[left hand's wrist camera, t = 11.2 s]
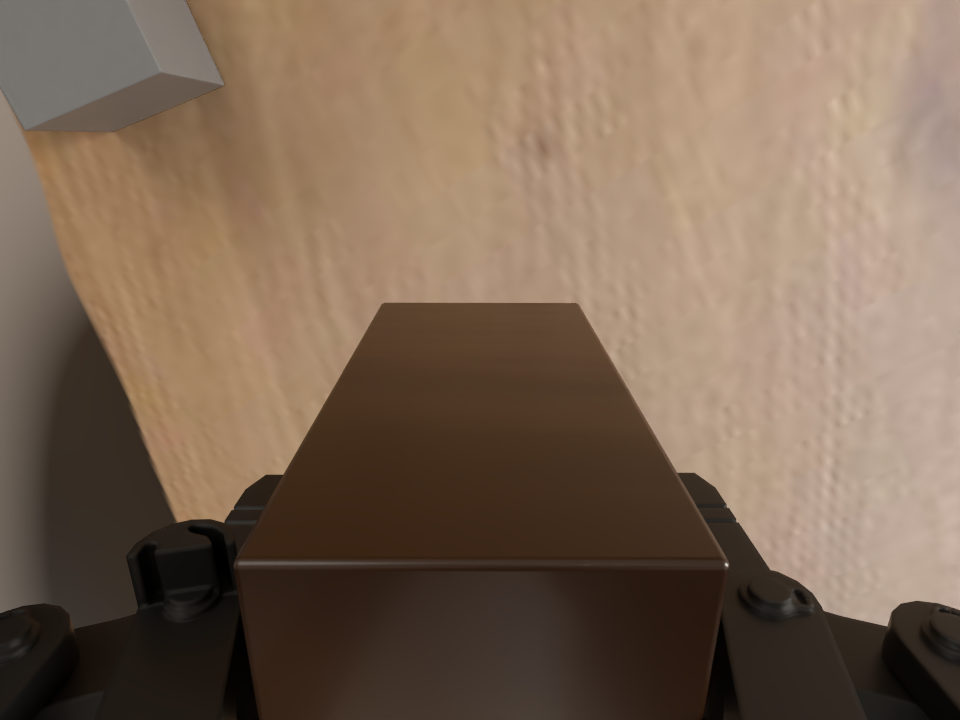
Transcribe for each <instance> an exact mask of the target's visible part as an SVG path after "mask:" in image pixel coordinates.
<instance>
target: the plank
mask: <svg viewBox="0 0 960 720" xmlns="http://www.w3.org/2000/svg"><path fill="white" fill-rule="evenodd" d="M233 567H234V574H235V580H236V586H237V592H238V598H239V604H240V610H241V616H242V622H243V628H244V634H245V640H246V645H247V651H248V657H249V663H250V669H251V675H252V681H253V687H254V693H255V699H256V705H257V711H258V716H259V720H703V715H704V709H705V703H706V698H707V692H708V686H709V681H710V675H711V669H712V663H713V658H714V652H715V646H716V641H717V635H718V629H719V624H720V618H721V612H722V607H723V601H724V595H725V589H726V584H727V578H728V572H729V563H728V560H727V558H726V556H725V554H724V552H723V551H722V549H721V547H720V546H719V544H718V542H717V540H716V539H715V537H714V535H713V534H712V532H711V530H710V528H709V527H708V525H707V523H706V522H705V520H704V518H703V517H702V515H701V513H700V511H699V510H698V508H697V506H696V505H695V503H694V501H693V499H692V498H691V496H690V494H689V493H688V491H687V489H686V487H685V486H684V484H683V482H682V481H681V479H680V477H679V475H678V474H677V472H676V470H675V469H674V467H673V465H672V463H671V462H670V460H669V458H668V457H667V455H666V453H665V451H664V450H663V448H662V446H661V445H660V443H659V441H658V440H657V438H656V436H655V434H654V433H653V431H652V429H651V428H650V426H649V424H648V422H647V421H646V419H645V417H644V416H643V414H642V412H641V410H640V409H639V407H638V405H637V404H636V402H635V400H634V398H633V397H632V395H631V393H630V392H629V390H628V388H627V386H626V385H625V383H624V381H623V380H622V378H621V376H620V374H619V373H618V371H617V369H616V368H615V366H614V364H613V362H612V361H611V359H610V357H609V356H608V354H607V352H606V351H605V349H604V347H603V345H602V344H601V342H600V340H599V339H598V337H597V335H596V333H595V332H594V330H593V328H592V327H591V325H590V323H589V321H588V320H587V318H586V316H585V315H584V313H583V311H582V309H581V308H580V306H579V304H576V303H383V304H382V305H381V307H380V308H379V310H378V312H377V314H376V315H375V317H374V319H373V320H372V322H371V324H370V326H369V327H368V329H367V331H366V333H365V334H364V336H363V338H362V340H361V341H360V343H359V345H358V346H357V348H356V350H355V352H354V353H353V355H352V357H351V359H350V360H349V362H348V364H347V366H346V367H345V369H344V371H343V372H342V374H341V376H340V378H339V379H338V381H337V383H336V385H335V386H334V388H333V390H332V392H331V393H330V395H329V397H328V398H327V400H326V402H325V404H324V405H323V407H322V409H321V411H320V412H319V414H318V416H317V418H316V419H315V421H314V423H313V425H312V426H311V428H310V430H309V431H308V433H307V435H306V437H305V438H304V440H303V442H302V444H301V445H300V447H299V449H298V451H297V452H296V454H295V456H294V457H293V459H292V461H291V463H290V464H289V466H288V468H287V470H286V471H285V473H284V475H283V477H282V478H281V480H280V482H279V483H278V485H277V487H276V489H275V490H274V492H273V494H272V496H271V497H270V499H269V501H268V503H267V504H266V506H265V508H264V509H263V511H262V513H261V515H260V516H259V518H258V520H257V522H256V523H255V525H254V527H253V529H252V530H251V532H250V534H249V535H248V537H247V539H246V541H245V542H244V544H243V546H242V548H241V549H240V551H239V553H238V555H237V556H236V558H235V561H234V564H233Z"/></svg>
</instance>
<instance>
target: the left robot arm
mask: <svg viewBox="0 0 960 720" xmlns="http://www.w3.org/2000/svg"><path fill="white" fill-rule="evenodd" d="M677 474H678V475H679V477H680V479H681V481H682V482H683V484H684V486H685V487H686V489H687V491H688V493H689V494H690V496H691V498H692V499H693V501H694V503H695V505H696V506H697V508H698V510H699V511H700V513H701V515H702V517H703V518H704V520H705V522H706V523H707V525H708V527H709V528H710V530H711V532H712V534H713V535H714V537H715V539H716V540H717V542H718V544H719V546H720V547H721V549H722V551H723V552H724V554H725V556H726V558H727V560H728V563H729V572H728V578H727V584H726V589H725V595H724V601H723V607H722V612H721V618H720V624H719V629H718V635H717V641H716V646H715V652H714V658H713V663H712V669H711V675H710V681H709V686H708V692H707V698H706V703H705V709H704V715H703V720H960V610H957V609H955V608H951V607H948V606H945V605H941V604H938V603H930V602H921V601H914V602H908V603H903V604H900V605H899V606H898V607H897V608H896V609H894V610H893V611H892V613H891V616H890V620H889V623H888V627H887V626H882V625H878V624H873V623H869V622H864V621H860V620H855V619H851V618H847V617H842V616H839V615H835V614H832V613H828V612H825V611H823V609H822V607H821V605H820V604H819V602H818V601H817V599H816V598H815V596H814V595H813V593H811V592H810V591H809V590H808V589H806V588H805V587H804V586H803V585H801V584H800V583H799V582H798V581H796V580H794V579H792V578H789V577H787V576H785V575H783V574H781V573H779V572H776V571H772V570H770V569H769V567H768V566H767V564H766V563H765V561H764V560H763V558H762V557H761V556H760V554H759V553H758V551H757V550H756V548H755V547H754V545H753V544H752V542H751V541H750V539H749V538H748V536H747V535H746V533H745V532H744V530H743V529H742V527H741V526H740V524H739V523H736V518H735V517H734V515H733V514H732V512H731V511H730V509H729V508H727V505H726V503H725V502H724V500H723V499H722V497H721V496H720V494H719V493H718V491H717V490H716V488H715V487H714V486H712V485H711V484H709V483H708V482H707V481H705V480H704V479H702V478H701V477H700V476H698V475H697V474H695V473H677ZM282 477H283V475H265V476H264V477H262V478H261V479H260V480H258V481H257V482H255V483H254V484H253V485H251V486H250V487H248V488H247V489H246V490H245V491H244V493H243V494H242V496H241V497H240V499H239V500H238V502H237V503H236V505H235V506H234V510H232V511H231V512H230V514H229V515H228V517H227V518H226V520H225V523H223V522H219V521H215V520H211V519H202V520H188V521H184V522H179V523H175V524H171V525H169V526H166V527H164V528H161V529H159V530H157V531H154V532H152V533H151V534H149V535H148V536H146V537H145V538H143V539H142V540H141V541H139V542H138V543H136V544H135V546H134V547H133V548H132V549H131V551H130V552H129V553H128V554H127V556H126V558H127V562H128V566H129V571H130V575H131V579H132V583H133V587H134V591H135V595H136V599H137V604H138V610H137V613H136V614H134V615H131V616H127V617H124V618H120V619H116V620H112V621H108V622H103V623H99V624H94V625H90V626H85V627H81V628H76V629H74V628H73V625H72V621H71V618H70V615H69V614H68V613H67V612H66V611H65V610H64V609H63V608H62V607H60V606H55V605H50V604H36V605H28V606H22V607H19V608H15V609H12V610H9V611H6V612H3V613H0V720H259V716H258V711H257V705H256V699H255V693H254V687H253V681H252V675H251V669H250V663H249V657H248V651H247V645H246V640H245V634H244V628H243V622H242V616H241V610H240V604H239V598H238V592H237V586H236V580H235V574H234V567H233V564H234V561H235V558H236V556H237V555H238V553H239V551H240V549H241V548H242V546H243V544H244V542H245V541H246V539H247V537H248V535H249V534H250V532H251V530H252V529H253V527H254V525H255V523H256V522H257V520H258V518H259V516H260V515H261V513H262V511H263V509H264V508H265V506H266V504H267V503H268V501H269V499H270V497H271V496H272V494H273V492H274V490H275V489H276V487H277V485H278V483H279V482H280V480H281V478H282Z"/></svg>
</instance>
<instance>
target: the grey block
mask: <svg viewBox="0 0 960 720" xmlns="http://www.w3.org/2000/svg"><path fill="white" fill-rule="evenodd" d="M222 86H224V82H223V80H222V78H221V76H220V74H219V72H218V70H217V67H216V65H215V63H214V61H213V59H212V57H211V54H210V52H209V50H208V48H207V46H206V44H205V42H204V39H203V37H202V35H201V33H200V31H199V29H198V26H197V24H196V22H195V20H194V18H193V16H192V14H191V11H190V9H189V7H188V5H187V3H186V1H185V0H0V89H1V91H2V92H3V94H4V96H5V97H6V99H7V101H8V103H9V104H10V106H11V108H12V109H13V111H14V113H15V115H16V116H17V118H18V120H19V122H20V123H21V125H22V127H23V128H24V130H25V131H77V132H115V131H117V130H119V129H122V128H124V127H127V126H129V125H131V124H134V123H136V122H139V121H141V120H143V119H146V118H148V117H150V116H153V115H155V114H158V113H160V112H162V111H165V110H167V109H169V108H172V107H174V106H177V105H179V104H181V103H184V102H186V101H189V100H191V99H193V98H196V97H198V96H200V95H203V94H205V93H208V92H210V91H212V90H215V89H217V88H219V87H222Z"/></svg>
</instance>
